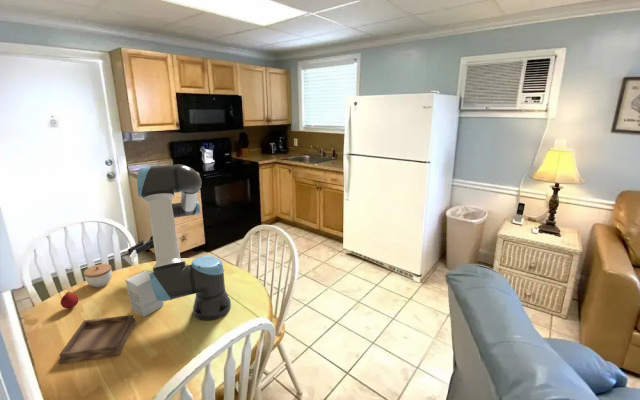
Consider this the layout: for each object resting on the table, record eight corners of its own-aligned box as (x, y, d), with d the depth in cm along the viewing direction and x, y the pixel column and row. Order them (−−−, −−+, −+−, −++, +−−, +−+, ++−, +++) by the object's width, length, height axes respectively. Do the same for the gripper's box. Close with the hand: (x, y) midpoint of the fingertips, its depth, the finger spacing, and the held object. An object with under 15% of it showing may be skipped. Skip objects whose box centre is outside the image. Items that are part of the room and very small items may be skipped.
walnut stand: (136, 321, 124) (134, 313, 123) (119, 355, 108) (117, 347, 107) (85, 327, 120) (83, 319, 119) (59, 364, 104) (56, 355, 103)
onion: (70, 313, 128) (66, 297, 125) (59, 311, 129) (54, 295, 126) (83, 305, 133) (79, 288, 131) (72, 303, 134) (68, 287, 132)
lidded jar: (88, 293, 142) (83, 275, 139) (86, 282, 149) (82, 265, 146) (115, 284, 148) (111, 267, 145) (112, 275, 156) (108, 258, 153)
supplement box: (151, 299, 138) (146, 269, 133) (163, 305, 134) (158, 275, 129) (130, 310, 131) (124, 279, 126) (143, 317, 126) (137, 286, 122)
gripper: (187, 242, 159) (179, 263, 140) (133, 246, 154) (117, 268, 134) (185, 229, 157) (177, 248, 137) (131, 232, 151) (114, 253, 132)
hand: (147, 258), depth 136 cm, fingers open, 13 cm apart
